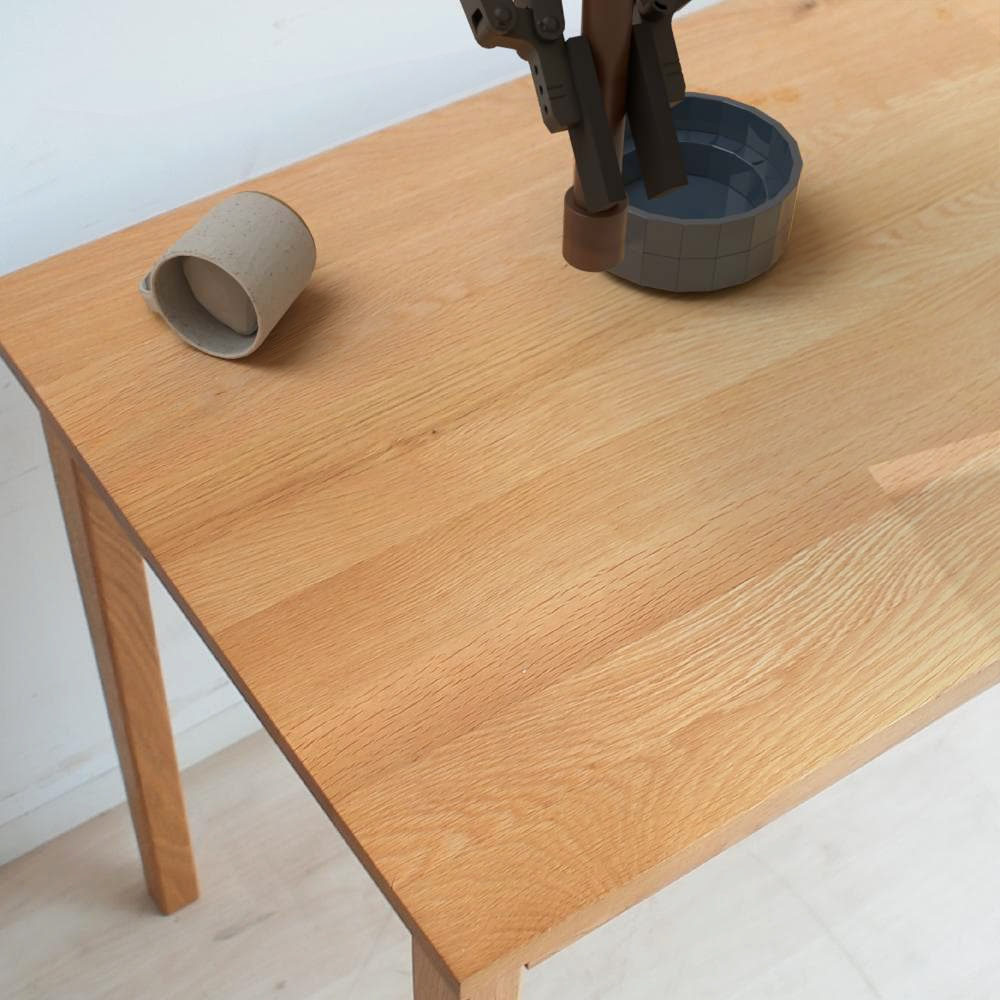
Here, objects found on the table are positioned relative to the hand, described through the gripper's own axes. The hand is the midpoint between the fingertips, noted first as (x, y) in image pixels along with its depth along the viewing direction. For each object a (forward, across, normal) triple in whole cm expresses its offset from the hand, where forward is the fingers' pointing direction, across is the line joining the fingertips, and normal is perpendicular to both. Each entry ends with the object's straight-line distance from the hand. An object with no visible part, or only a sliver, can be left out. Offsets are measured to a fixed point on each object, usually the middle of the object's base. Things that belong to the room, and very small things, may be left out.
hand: (637, 198), depth 58 cm
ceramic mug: (-2, +14, -36) cm, 39 cm away
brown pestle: (+1, 0, -7) cm, 7 cm away
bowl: (-1, -16, -34) cm, 38 cm away
